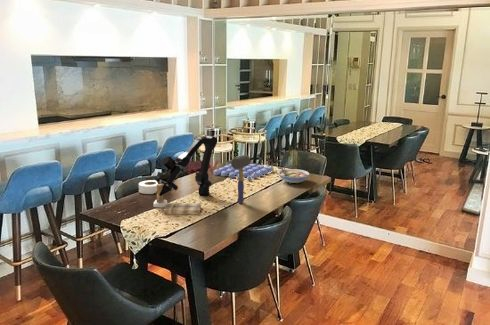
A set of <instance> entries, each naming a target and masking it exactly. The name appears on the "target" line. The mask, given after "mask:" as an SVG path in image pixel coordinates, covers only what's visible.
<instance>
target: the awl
mask: <svg viewBox="0 0 490 325" xmlns="http://www.w3.org/2000/svg"><path fill="white" fill-rule="evenodd" d="M156 187H157V194H156V200H157V203H162V202H164V200H165V199H164V194H163V195H162V196H159V194H160V192H161V191H162V189H163V185H162V184H157V185H156Z"/></svg>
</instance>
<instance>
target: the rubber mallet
mask: <svg viewBox="0 0 490 325" xmlns="http://www.w3.org/2000/svg"><path fill="white" fill-rule="evenodd" d="M230 164H231V166H232V167H233V168H234V169H239V179H238V181H237V202H238V204H243V203H244V201H245V199H244V188H245V185H244V177H243V167H246V166H248V165H249V164H251V158H250V156H249V155H248V154H247V155H246V154H243V155H239V156H238V155H237V156H235V157H234V158H232V159H231V162H230Z"/></svg>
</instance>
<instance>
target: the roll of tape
mask: <svg viewBox="0 0 490 325" xmlns="http://www.w3.org/2000/svg"><path fill="white" fill-rule="evenodd" d="M157 184H158V183H157V181H156V180H154V179H152V180H151V179H150V180H143V181H140V182H139V183H138V192H139V194H144V195H154V193H155V194H156V191H157V187H156V185H157Z"/></svg>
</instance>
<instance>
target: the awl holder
mask: <svg viewBox="0 0 490 325" xmlns="http://www.w3.org/2000/svg"><path fill="white" fill-rule="evenodd" d="M163 200H164V202H162V203H157V199H155V200H154V201H153V206H152V207H153V208H165V207H166V205H167V204H168V200H167V199H163Z"/></svg>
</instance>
